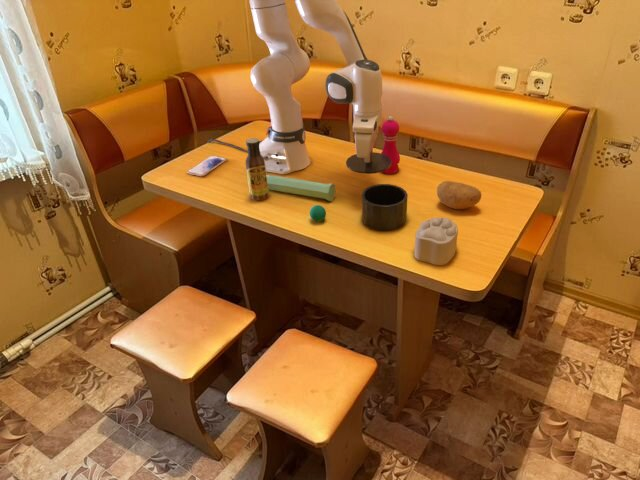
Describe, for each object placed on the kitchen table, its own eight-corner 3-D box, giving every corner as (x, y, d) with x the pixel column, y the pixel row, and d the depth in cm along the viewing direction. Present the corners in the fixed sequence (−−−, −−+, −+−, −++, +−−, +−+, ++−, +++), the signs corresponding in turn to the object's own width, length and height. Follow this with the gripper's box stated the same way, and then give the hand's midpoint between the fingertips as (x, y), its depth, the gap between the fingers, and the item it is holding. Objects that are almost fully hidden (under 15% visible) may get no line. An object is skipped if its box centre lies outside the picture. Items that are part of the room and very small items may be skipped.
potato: (475, 218, 152) (479, 195, 147) (431, 209, 157) (433, 187, 152) (482, 203, 159) (486, 181, 154) (440, 195, 164) (442, 173, 159)
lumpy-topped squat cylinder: (410, 257, 137) (411, 231, 132) (427, 234, 146) (430, 208, 141) (445, 267, 133) (448, 241, 128) (461, 243, 142) (465, 217, 137)
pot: (358, 229, 149) (357, 204, 144) (366, 205, 160) (366, 182, 154) (403, 233, 147) (404, 208, 142) (408, 209, 157) (409, 185, 152)
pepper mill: (400, 174, 176) (401, 120, 164) (379, 175, 176) (380, 120, 164) (399, 165, 182) (401, 112, 170) (379, 165, 182) (379, 112, 170)
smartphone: (226, 158, 187) (202, 175, 176) (227, 160, 188) (202, 177, 177) (211, 154, 189) (186, 171, 179) (211, 157, 190) (186, 173, 179)
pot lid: (341, 173, 157) (340, 158, 154) (351, 154, 169) (350, 139, 165) (387, 176, 155) (388, 161, 152) (394, 156, 166) (394, 142, 163)
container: (260, 173, 165) (328, 184, 158) (269, 172, 171) (336, 182, 163) (259, 190, 167) (327, 202, 159) (268, 189, 173) (334, 200, 165)
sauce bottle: (253, 203, 162) (243, 146, 150) (248, 194, 167) (238, 138, 154) (272, 198, 164) (264, 142, 152) (266, 190, 169) (258, 134, 156)
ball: (308, 223, 152) (307, 209, 149) (312, 215, 156) (311, 201, 152) (324, 225, 151) (323, 211, 148) (328, 216, 155) (327, 202, 152)
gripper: (363, 104, 160) (364, 145, 169) (351, 129, 145) (352, 172, 153) (383, 105, 159) (382, 146, 168) (372, 130, 144) (372, 173, 152)
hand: (368, 158), depth 160 cm, fingers closed on pot lid, 2 cm apart
